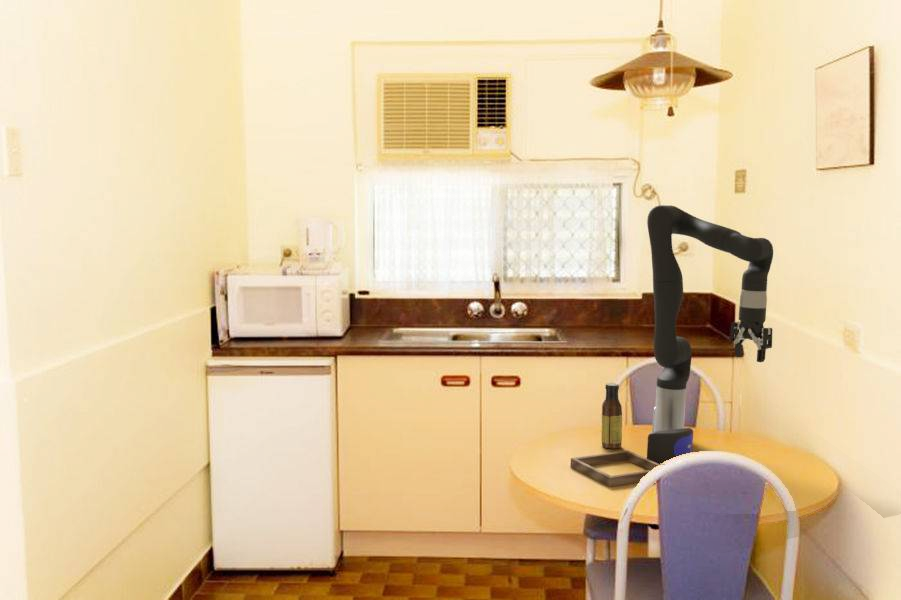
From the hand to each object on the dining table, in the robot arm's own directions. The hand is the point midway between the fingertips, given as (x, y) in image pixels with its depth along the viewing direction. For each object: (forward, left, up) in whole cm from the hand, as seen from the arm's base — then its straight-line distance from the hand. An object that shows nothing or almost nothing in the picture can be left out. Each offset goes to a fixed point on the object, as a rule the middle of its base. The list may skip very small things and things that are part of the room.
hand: (749, 359), depth 251 cm
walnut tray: (-3, -44, -30) cm, 53 cm away
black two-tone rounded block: (-6, -23, -30) cm, 39 cm away
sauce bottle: (-24, -31, -30) cm, 50 cm away
